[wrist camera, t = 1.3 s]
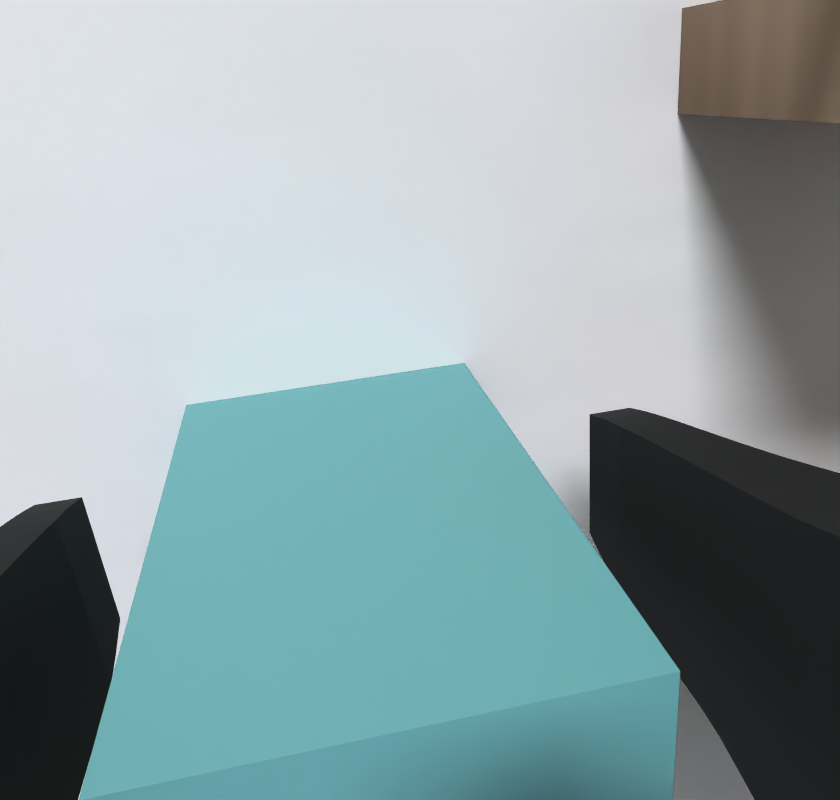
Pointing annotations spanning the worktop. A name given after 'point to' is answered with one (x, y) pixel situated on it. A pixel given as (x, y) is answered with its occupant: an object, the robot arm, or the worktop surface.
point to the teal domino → (377, 616)
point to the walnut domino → (761, 60)
